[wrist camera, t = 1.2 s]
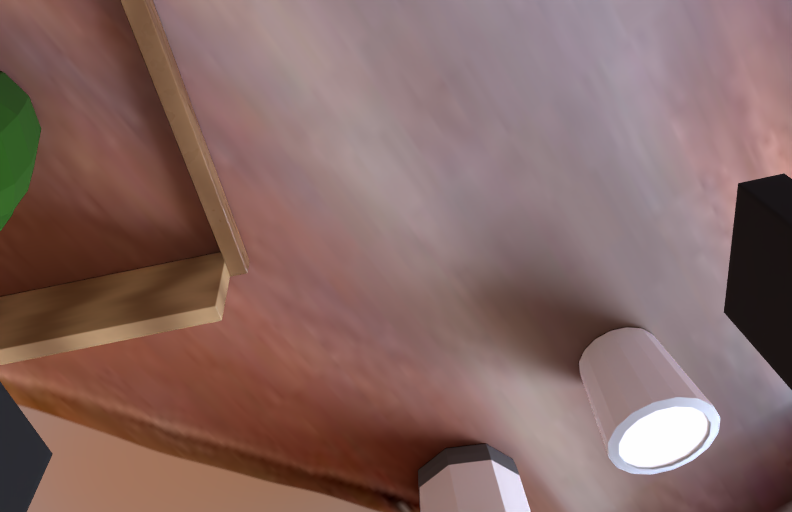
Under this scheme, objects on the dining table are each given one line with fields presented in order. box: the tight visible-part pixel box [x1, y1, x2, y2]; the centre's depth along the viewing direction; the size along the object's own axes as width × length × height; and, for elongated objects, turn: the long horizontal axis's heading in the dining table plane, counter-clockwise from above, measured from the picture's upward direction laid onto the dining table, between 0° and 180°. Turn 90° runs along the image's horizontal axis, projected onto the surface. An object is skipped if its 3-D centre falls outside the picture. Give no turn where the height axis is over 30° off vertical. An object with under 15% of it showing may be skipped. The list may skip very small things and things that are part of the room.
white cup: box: [579, 327, 720, 474], centre depth 41 cm, size 7×7×7 cm
